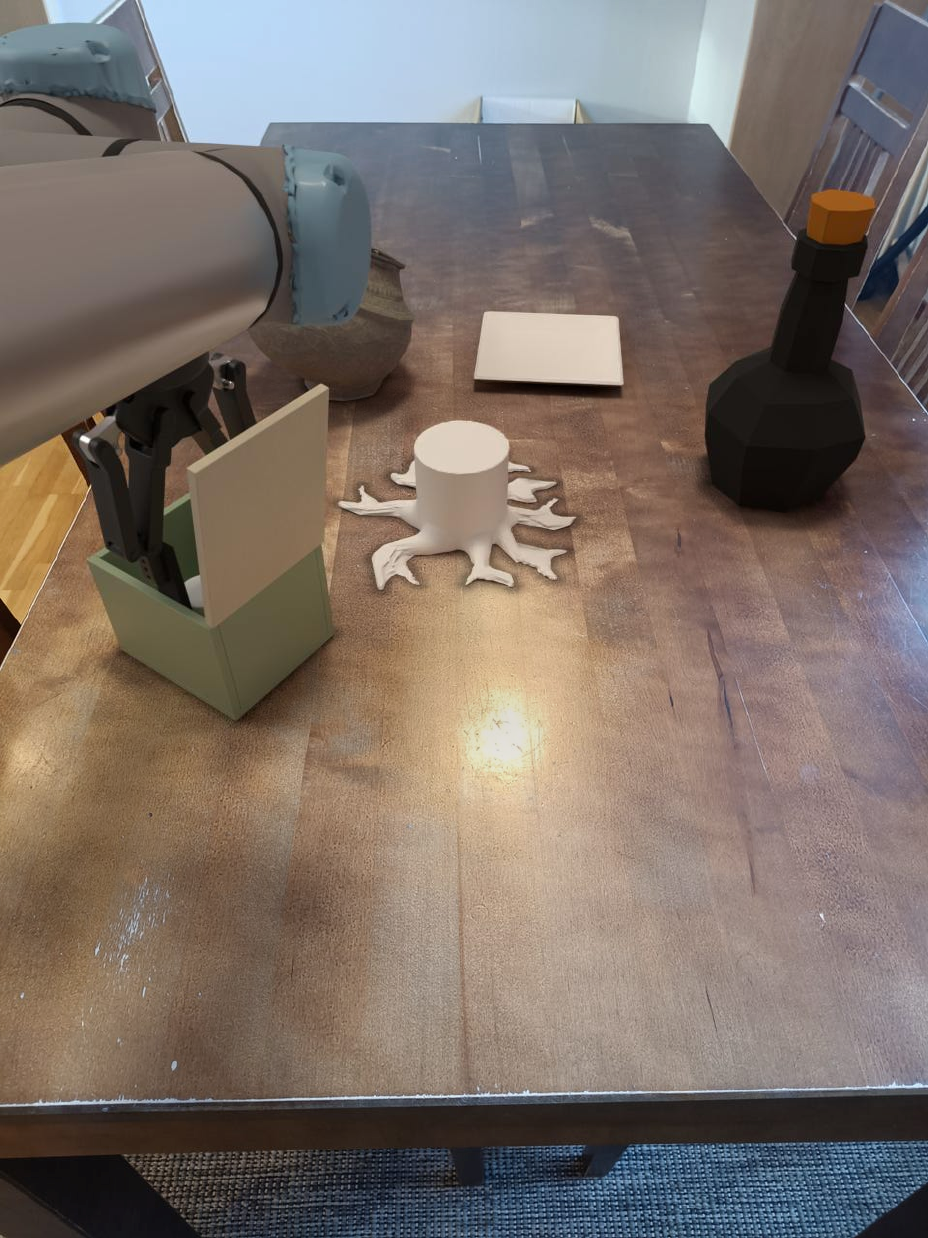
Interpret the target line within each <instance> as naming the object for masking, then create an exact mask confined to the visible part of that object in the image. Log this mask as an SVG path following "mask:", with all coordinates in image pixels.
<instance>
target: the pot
mask: <svg viewBox="0 0 928 1238" xmlns="http://www.w3.org/2000/svg"><path fill="white" fill-rule="evenodd" d="M405 269H406V263H404V262H402V261H401V260H399V259H398V258H396V257H394V256H392V255H390V254H389V253H387V252H386V251H385V250H382V249H379V248H375V247H374V246H372V245H371V262H370V271H369V278H368V283H367V288H366V292H365V295H364V298H363V300H362V303H361V305H360V307H359V309H358V311H357V313H356V314H355V315H354V317H352V318H351V319H350V320H349V321H348V322H346V323H344V324H340V325H304V326H302V327H301V328H298V327H293V324H287V323H278V322H263V323H260V324H258V325H256V326H255V327H253V328H251V329H249V330H247V332H248V334H249V337H250V339H251V340H252V342H253V343H254V344H255V345H256V347H257V348H258V350H260V352H261V353H262V354H263V355H264V356H265V357H267V358H268V359H269V360H270V361H271V362H272V363H274V364H275V365H277V366H278V367H280V368H281V369H283V370H285V371H287V372H288V373H289V374H291V375H294V376H296V377H299V378H301V379H303V380H304V385H305V386H306V388H307V389H308V391H310V390H311V389H313V388H314V387H316V386H318V385H319V384H323V385H325V386H326V387H328V388H329V401H339V402H346V401H352V400H353V401H354V400H360V399H364V398H366V397H370V396H374V395H375V393H377V391H378V390H379V388H380V387H381V384H382V383H383V381H384V379H385V378H386V377H387V376H388V374H390V373H391V372H392V371H393V370H394V368H395V367H396V366H397V365H398V363H399V362H400V360H401V359H402V358H403V356H404V355H405V354H406V352H407V350H408V349H409V345H410V343H411V341H412V335H413V334H412V333H413V328H412V324H413V323H414V321H415V320H416V318H415V317H416V316H415V314H414V313H413V312H412V311H411V310H410V309H409V307H408V305H407V303H406V302H405V298H404V293H403V289H402V283H401V275H400V272H401V271H404V270H405Z"/></svg>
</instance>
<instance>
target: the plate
mask: <svg viewBox="0 0 928 1238" xmlns="http://www.w3.org/2000/svg"><path fill="white" fill-rule="evenodd" d="M619 320H620V319H619V317H618V316H615V315H599V314H595V315H594V314H573V313H572V314H571V313H570V314H569V313H541V312H517V311H492V310H491V311H490V310H489V311H488V310H487V311H485V312H483V316H482V323H481V329H480V334H479V342H478V348H477V354H476V360H475V367H474V373H473V379H474V380H475V381H477V382H486V383H487V382H489V383H511V384H513V383H514V384H533V385H534V384H536V385H557V386H559V385H560V386H581V387H583V386H584V387H605V388H606V387H607V388H620V387H622V386H623V385H624V383H625V382H624V372H623V371H624V370H623V361H622V360H623V359H622V348H621V347H622V346H621V345H622V344H621V334H620V321H619Z"/></svg>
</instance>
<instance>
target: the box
mask: <svg viewBox="0 0 928 1238" xmlns="http://www.w3.org/2000/svg"><path fill="white" fill-rule="evenodd" d="M163 542H165V543H167V544H169V545H171V546H172V547H173V548H174V551H175V555H176V558H177V561H178V564H179V567H180V571H181V574H182V577H183V580H184V583H185V582H186V581H187V580H189V579H191V578H193V577H196V576H199V575H200V572H199V564H198V556H197V548H196V540H195V532H194V523H193V515H192V507H191V499H190V491H189V492H188V493H186V494H184V495H183V496H181V497H179V498H178V499H177V500H175V501H174V502H172V503H170V504H169V505H168V506H166V507H164V520H163ZM322 544H323V543H322ZM322 544H320V545H319V546H318V547H317V548H315V549H314V550H313V551H311V552H310V553H309V554H308V555H306V556H305V557H304V558H303V559H301V560H300V561H299V562H297V563H296V564H295V565H294V566H292V567H291V568H290V569H289V570H287V571H286V572H285V573H284V574H282V575H281V576H280V577H278V578H277V579H276V580H275V581H273V582H272V583H271V584H270V585H268V586H267V587H266V588H264V589H263V590H262V591H261V592H259V593H258V594H257V595H256V596H254V597H253V598H252V599H250V600H249V601H248V602H247V603H245V604H244V605H243V606H242V607H240V608H239V609H238V610H236V611H235V612H234V613H233V614H231V615H230V616H229V617H228V618H226V619H225V620H224V621H222V622H221V623H220V624H219V625H217V626H216V627H215V628H211V627H210V626H209V625H207V624H206V620H205V618H204V617H203V616H201V615H199V614H197V613H196V612H194V611H192V610H190V609H189V608H187V607H185V606H183V605H182V604H180V603H178V602H176V601H174V600H173V599H171V598H169V597H167V596H166V595H164V594H162V593H160V592H159V591H158V588H157V585H155V584H153V583H151V582H150V581H148V580H147V579H146V578H144V576H143V573H142V570H141V567H140V564H139V562H138V560H137V561H136V562H134V563H130V562H128V561H127V560H125V559H123V558H121V557H119V556H118V555H116V554H114V553H112V552H111V551H109V550H107V549H106V547H105V546H104V547H103V548H101V549H100V550H98V551H97V552H95V553H94V554H92V555H91V556H89V557H87V558H86V562H87V565H88V569H89V571H90V573H91V576H92V578H93V581H94V583H95V585H96V588H97V591H98V594H99V596H100V599H101V602H102V603H103V606H104V609H105V611H106V614H107V617H108V619H109V622H110V625H111V627H112V629H113V632H114V635H115V637H116V640H117V643H118V645H119V648H120V649H121V651H123V652H124V653H125V654H127V655H128V656H130V657H132V658H134V659H135V660H137V661H139V663H142V664H143V665H145V666H147V667H148V668H150V669H151V670H153V671H154V672H156V673H158V674H160V675H161V676H163V677H164V678H165V679H167V680H169V681H171V682H172V683H174V684H175V685H177V686H178V687H180V688H181V689H183V690H185V691H186V692H188V693H190V694H192V695H193V696H195V698H198V699H200V700H201V701H203V702H204V703H206V704H208V706H211V707H212V708H214V709H215V710H217V711H219V712H220V713H221V714H224V715H225V716H226V717H228V718H230V719H232V720H233V721H235V722H237V721H238V720H239V719H240V718H242V717H243V716H244V715H245V714H247V712H248V711H249V710H251V709H252V708H253V707H254V706H255V705H256V704H258V703H259V702H260V701H261V700H262V699H264V697H266V695H268V694H269V693H270V692H271V691H272V690H274V689H275V687H277V686H278V685H279V684H280V683H281V682H283V681H284V680H285V679H286V678H287V677H288V676H289V675H290V674H292V672H294V671H295V670H296V669H298V667H299V666H301V664H303V663H304V662H305V661H306V660H307V659H308V658H309V657H311V656H312V655H313V654H314V653H315V652H316V651H317V650H319V649H320V648H321V647H322V646H323V645H324V644H325V643H326V642H327V641H329V640H330V639H331V638H332V637H333V636H334V635H335V629H334V622H333V620H334V619H333V613H332V607H331V600H330V594H329V587H328V579H327V573H326V566H325V558H324V553H323V552H324V551H323V545H322Z"/></svg>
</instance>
